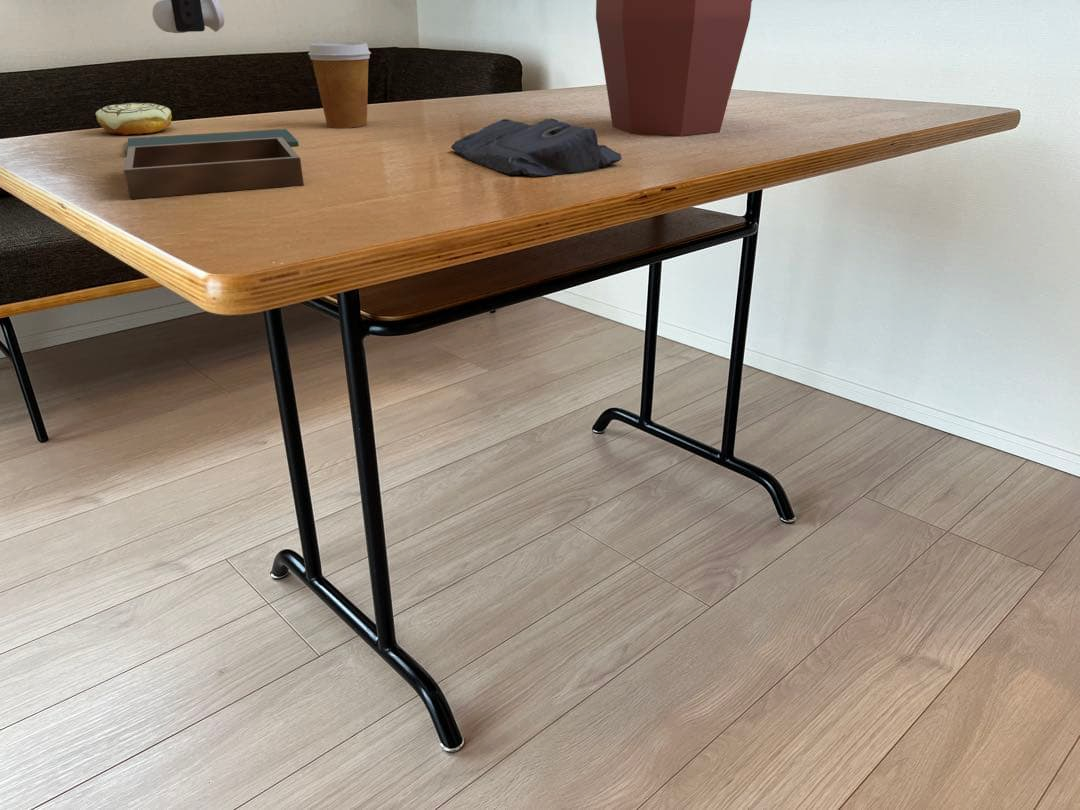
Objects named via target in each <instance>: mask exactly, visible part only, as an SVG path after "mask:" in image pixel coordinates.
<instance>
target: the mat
mask: <svg viewBox="0 0 1080 810" xmlns="http://www.w3.org/2000/svg"><path fill="white" fill-rule="evenodd" d="M275 137H283V139H284V140H285V141H286V142H287V143H288V144H289V146H290V147H299V144H300V143H299V141H298V140H297V139H296V138H295V136H293V134H291V132H290V131H289V130H288V129H287V128H277V129H261V130H247V131H245V130H244V131H227V132H211V133H193V134H176V135H159V136H144V137H141V136H140V137H128V138H127V142H126V146H125V152H124V154H125V155H124V156H125V158H126V157H127V152H128V147H131V146H147V145H163V144H179V143H195V142H211V141H227V140H243V139H259V138H275Z"/></svg>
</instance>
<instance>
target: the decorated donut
mask: <svg viewBox="0 0 1080 810" xmlns="http://www.w3.org/2000/svg"><path fill="white" fill-rule="evenodd" d="M95 116H96V121H97V123H98V124H99V126H101V128H102V129H103V130H104V131H105V132H107V133H109V134H116V135H122V136H129V135H146V134H153V133H154V134H155V133H158V132H162V131H167V130H169V128H170V126H171V124H172V118H173V116H172V110H171V109H170V108H169V107H167V106H165V105H161V104H157V103H148V102H129V103H121V104H110V105H106V106H104V107H102V108H99V109H98V110H97V111H96V112H95Z"/></svg>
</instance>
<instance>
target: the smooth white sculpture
mask: <svg viewBox="0 0 1080 810" xmlns="http://www.w3.org/2000/svg"><path fill="white" fill-rule="evenodd" d="M200 1H201V8H202V14H203V20H204V26H205V27H208V29H210V30H212V31H213V32H215V33H217V32H218V31H220V30H221V29H222V28H223V27H224V25H225V15H224V11H223V7H222V6H221V2H220V1H219V0H200ZM152 18H153V19H152V20H153V21H154V23H155V25H156V26H157V28H159V29H160V31H163V32H165V33H173V34H184V33H186V32H179V31H177V30H176V26H175V20H174V15H173V9H172V3H171V0H159V1H157V2H155V4H154V5H153V6H152Z"/></svg>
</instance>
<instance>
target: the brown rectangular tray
mask: <svg viewBox="0 0 1080 810" xmlns="http://www.w3.org/2000/svg"><path fill="white" fill-rule="evenodd" d="M123 173H124V178H125V183H126V186H127V187H126V188H127V191H128V195H129V199H130V200H138V199H152V198H162V197H164V198H165V197H177V196H187V195H188V196H189V195H202V194H213V193H224V192H226V193H227V192H236V191H237V192H238V191H247V190H249V191H250V190H260V189H272V188H273V189H274V188H286V187H287V188H288V187H297V186H298V187H299V186H304V178H303V169H302V162H301V157H300V156H299V155H298V153H297V152H296V151H295V150H294V149H293V147H292V146H289V144H288V143H287V142H286V141H285V140H284V139H283V137H275V138H259V139H243V140H227V141H211V142H195V143H179V144H163V145H147V146H131V147H128V152H127V157H126V156H125V162H124V168H123Z"/></svg>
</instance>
